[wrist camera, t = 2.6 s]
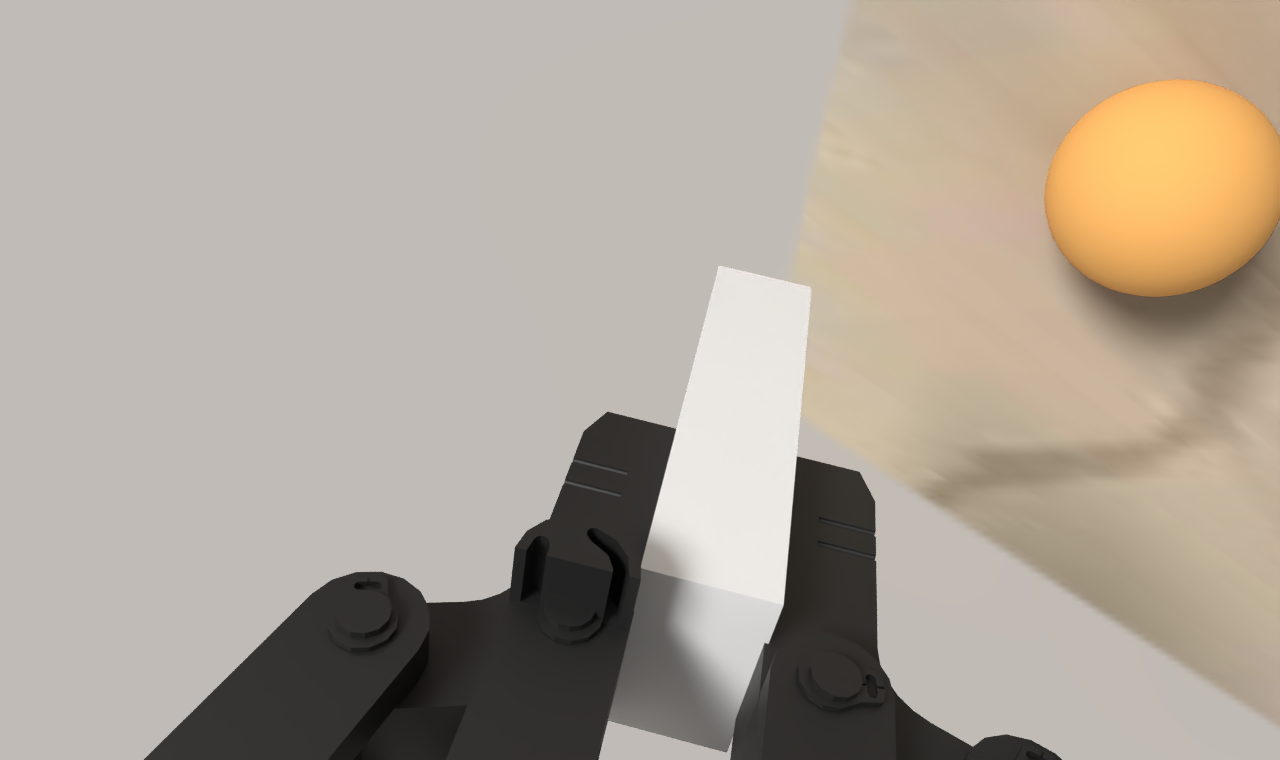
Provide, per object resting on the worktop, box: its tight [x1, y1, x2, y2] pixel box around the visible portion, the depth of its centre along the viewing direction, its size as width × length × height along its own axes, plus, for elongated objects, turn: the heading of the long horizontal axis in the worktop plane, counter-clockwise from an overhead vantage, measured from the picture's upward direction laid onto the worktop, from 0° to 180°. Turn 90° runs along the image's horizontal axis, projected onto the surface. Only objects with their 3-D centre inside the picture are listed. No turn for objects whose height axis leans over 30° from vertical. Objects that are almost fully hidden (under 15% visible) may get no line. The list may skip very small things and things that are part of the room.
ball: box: [1045, 80, 1280, 297], centre depth 24 cm, size 6×6×6 cm
